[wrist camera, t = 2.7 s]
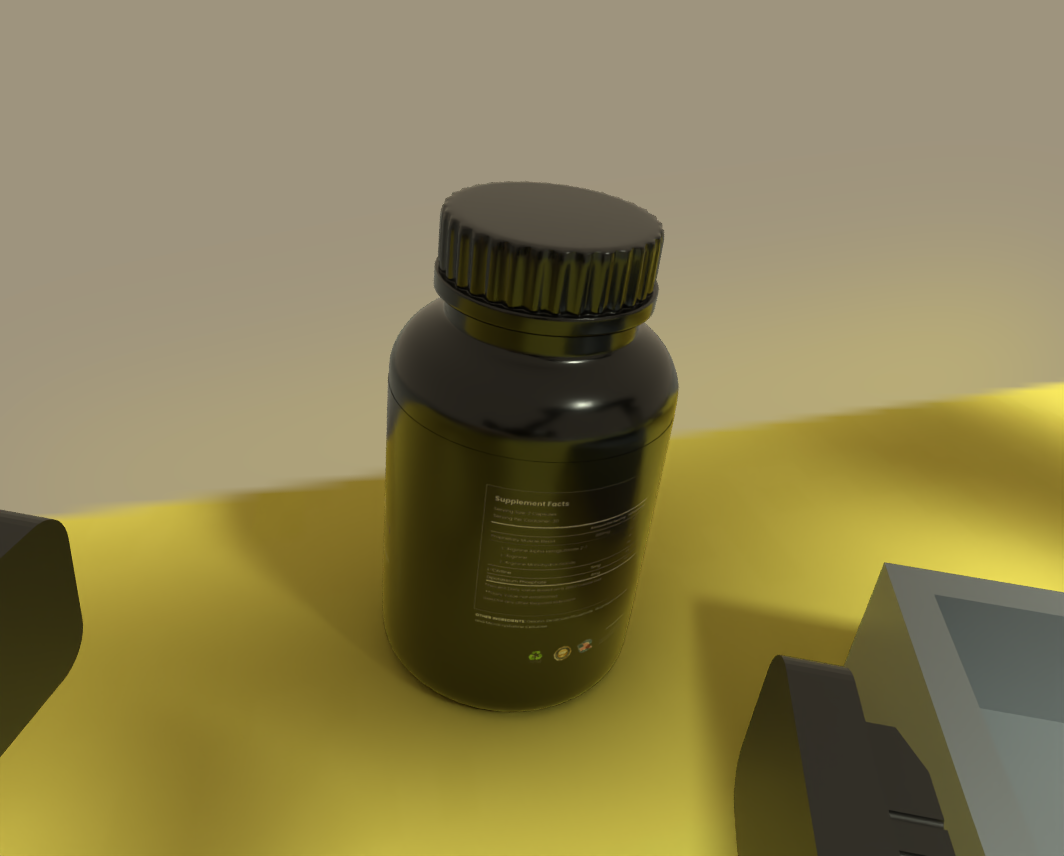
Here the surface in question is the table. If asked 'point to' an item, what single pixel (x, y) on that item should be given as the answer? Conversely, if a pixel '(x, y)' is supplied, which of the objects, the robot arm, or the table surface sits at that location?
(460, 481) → the supplement bottle
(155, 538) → the table surface
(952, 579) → the tray
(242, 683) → the table surface
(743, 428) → the table surface
